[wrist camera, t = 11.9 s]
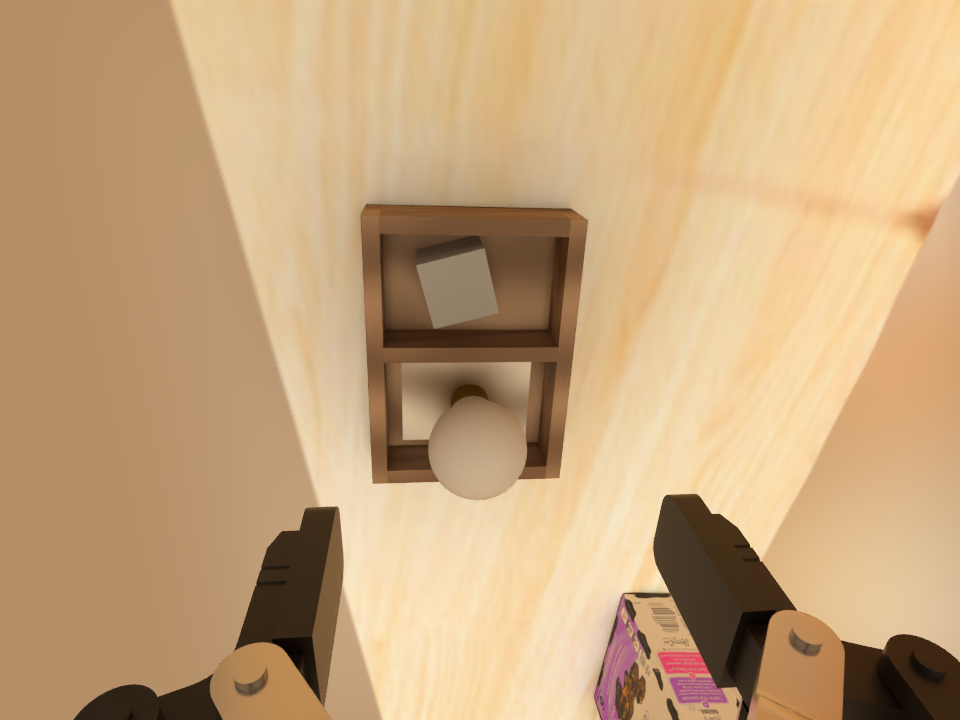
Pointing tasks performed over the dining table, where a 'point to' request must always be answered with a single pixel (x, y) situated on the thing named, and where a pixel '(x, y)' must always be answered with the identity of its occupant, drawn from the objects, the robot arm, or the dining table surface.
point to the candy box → (657, 668)
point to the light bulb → (477, 446)
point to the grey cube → (456, 281)
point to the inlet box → (470, 330)
